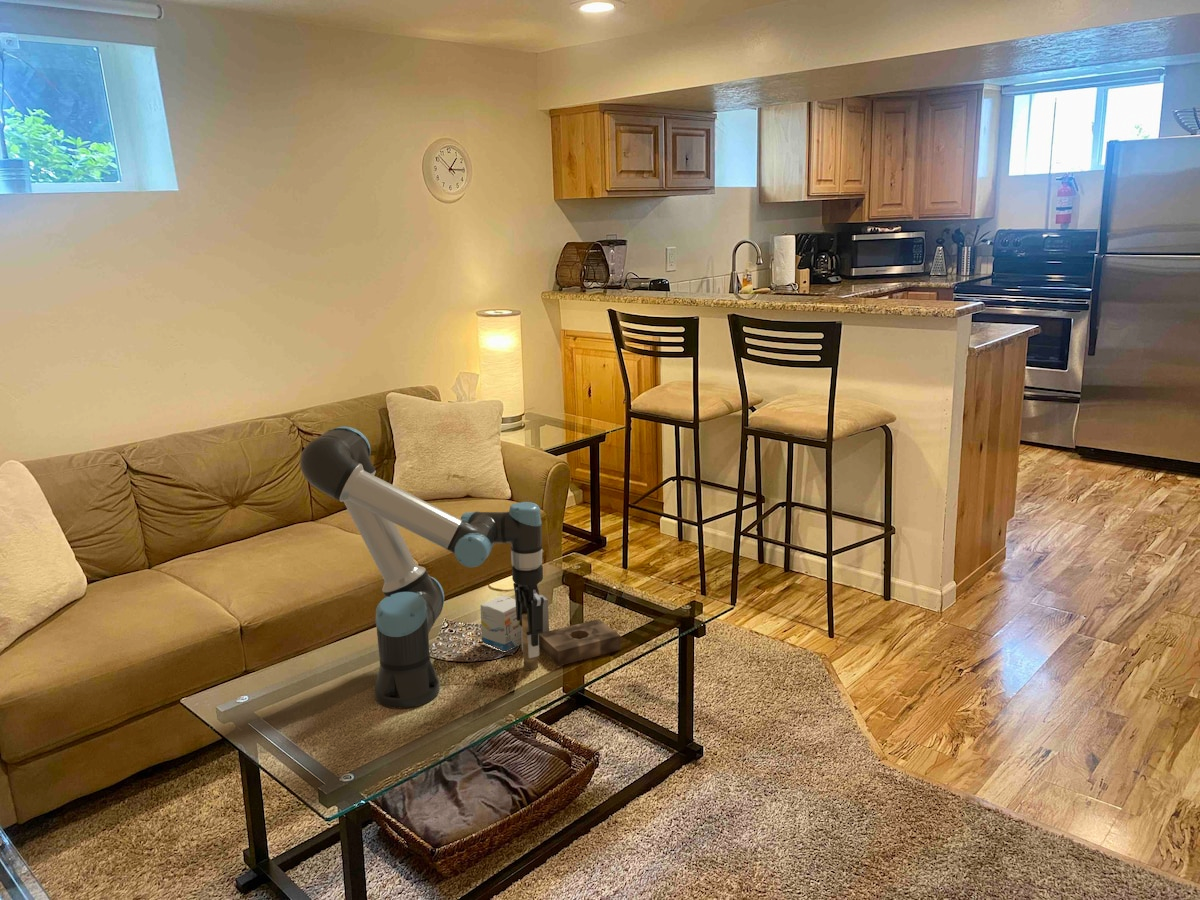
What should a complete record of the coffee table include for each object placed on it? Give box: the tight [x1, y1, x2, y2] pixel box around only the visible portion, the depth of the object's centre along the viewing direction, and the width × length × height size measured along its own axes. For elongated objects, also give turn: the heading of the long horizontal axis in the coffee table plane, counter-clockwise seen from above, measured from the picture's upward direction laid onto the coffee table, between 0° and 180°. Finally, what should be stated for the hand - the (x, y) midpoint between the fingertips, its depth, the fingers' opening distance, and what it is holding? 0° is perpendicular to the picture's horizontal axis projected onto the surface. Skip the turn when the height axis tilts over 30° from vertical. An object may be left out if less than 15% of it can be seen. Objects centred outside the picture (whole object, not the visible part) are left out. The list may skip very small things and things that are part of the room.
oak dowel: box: [522, 613, 539, 671], centre depth 222 cm, size 4×4×14 cm
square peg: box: [538, 594, 550, 632], centre depth 237 cm, size 4×4×12 cm
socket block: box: [539, 618, 622, 667], centre depth 232 cm, size 18×12×4 cm, turn 118°
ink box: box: [480, 595, 522, 651], centre depth 235 cm, size 9×8×12 cm
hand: (530, 653), depth 222 cm, fingers closed on oak dowel, 3 cm apart
